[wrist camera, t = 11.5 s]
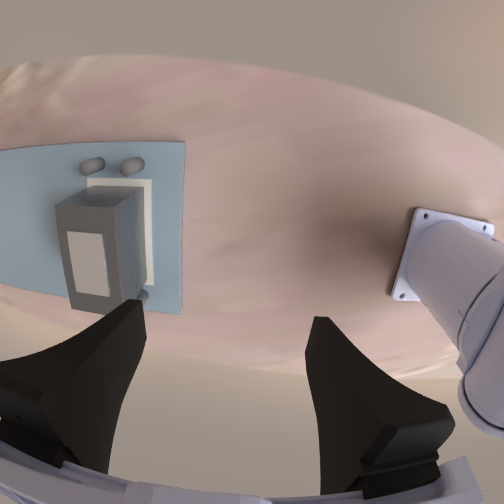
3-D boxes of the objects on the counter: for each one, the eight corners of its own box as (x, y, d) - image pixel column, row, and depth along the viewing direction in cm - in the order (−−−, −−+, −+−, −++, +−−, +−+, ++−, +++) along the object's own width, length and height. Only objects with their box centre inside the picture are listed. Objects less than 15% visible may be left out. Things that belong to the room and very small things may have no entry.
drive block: (144, 186, 19) (112, 208, 15) (147, 279, 22) (124, 319, 17) (93, 185, 19) (53, 205, 14) (100, 273, 22) (71, 309, 17)
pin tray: (185, 141, 19) (174, 145, 16) (182, 307, 24) (174, 330, 22) (-15, 152, 18) (-36, 158, 16) (4, 278, 24) (-12, 292, 21)
